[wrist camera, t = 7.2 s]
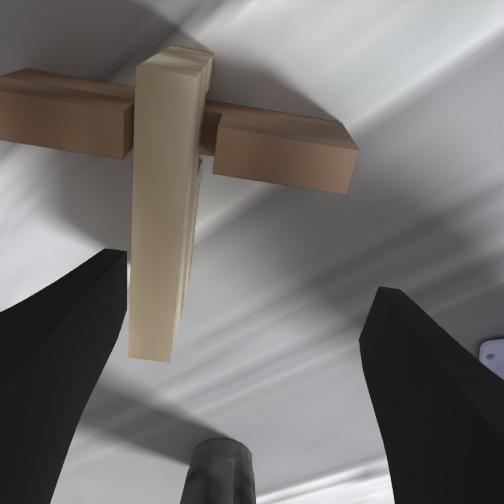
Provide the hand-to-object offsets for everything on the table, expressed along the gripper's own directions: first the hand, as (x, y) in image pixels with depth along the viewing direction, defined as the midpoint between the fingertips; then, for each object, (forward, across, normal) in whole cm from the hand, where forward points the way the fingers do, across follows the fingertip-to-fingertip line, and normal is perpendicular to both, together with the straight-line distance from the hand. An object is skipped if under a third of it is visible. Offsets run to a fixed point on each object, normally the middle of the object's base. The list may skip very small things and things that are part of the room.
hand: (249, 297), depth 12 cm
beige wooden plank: (+10, +4, +1) cm, 10 cm away
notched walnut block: (+10, +4, -2) cm, 11 cm away
